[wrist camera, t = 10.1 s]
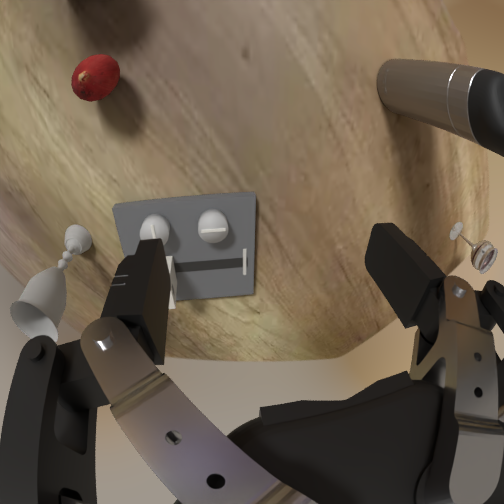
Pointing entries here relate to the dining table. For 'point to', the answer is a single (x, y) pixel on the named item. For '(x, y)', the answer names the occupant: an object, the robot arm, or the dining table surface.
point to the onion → (95, 77)
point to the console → (197, 239)
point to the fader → (172, 282)
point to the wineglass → (477, 250)
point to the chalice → (48, 291)
